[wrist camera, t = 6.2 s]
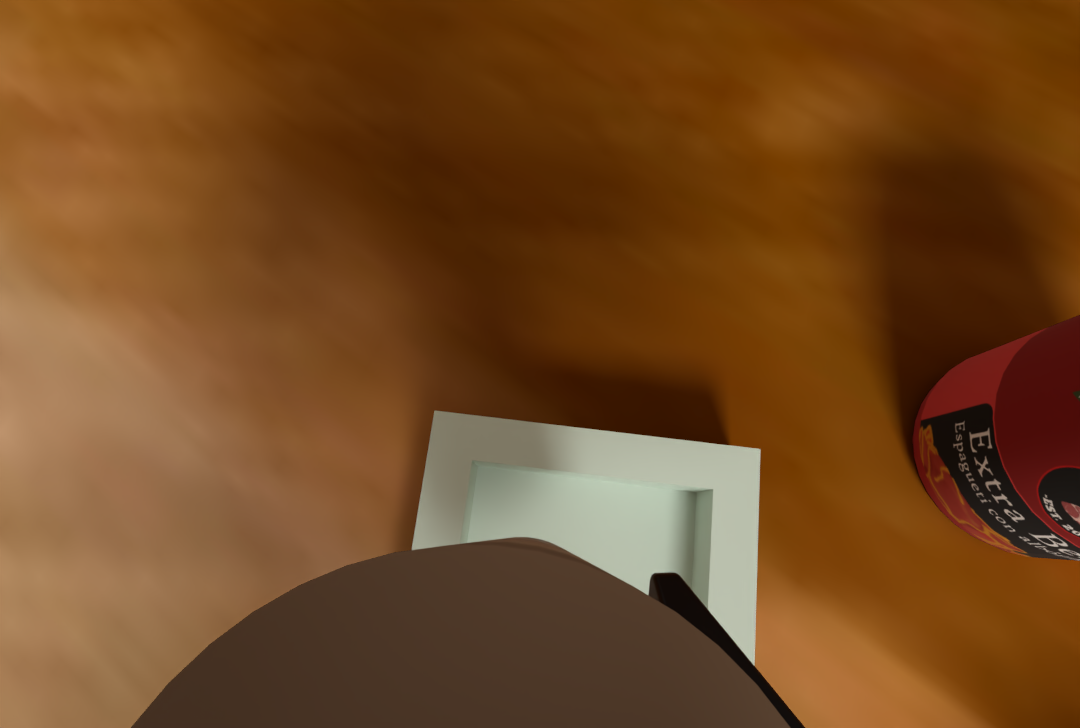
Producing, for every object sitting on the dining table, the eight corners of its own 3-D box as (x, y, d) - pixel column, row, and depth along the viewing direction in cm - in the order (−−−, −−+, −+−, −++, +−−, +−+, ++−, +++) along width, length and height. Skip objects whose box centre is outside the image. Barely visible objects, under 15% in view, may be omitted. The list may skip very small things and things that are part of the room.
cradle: (716, 854, 20) (747, 910, 17) (385, 810, 20) (361, 857, 18) (732, 458, 23) (760, 449, 20) (447, 424, 24) (434, 410, 21)
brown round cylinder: (560, 758, 15) (690, 1990, 2) (401, 670, 15) (-207, 1280, 3) (634, 585, 16) (1003, 775, 3) (484, 507, 16) (311, 421, 4)
